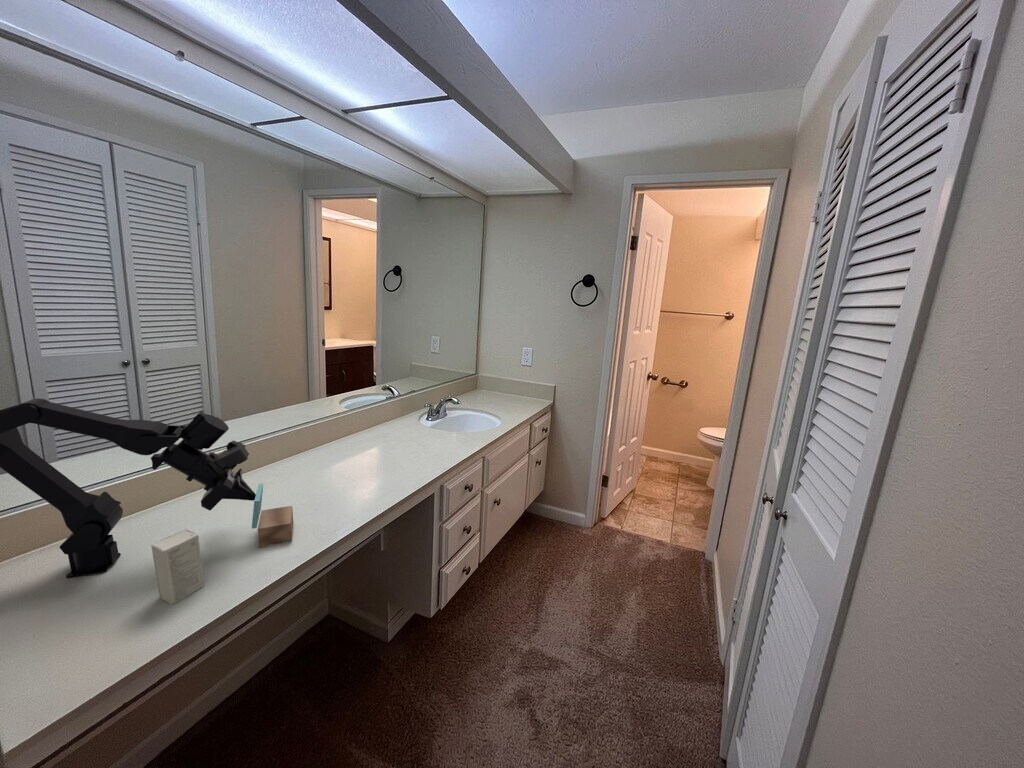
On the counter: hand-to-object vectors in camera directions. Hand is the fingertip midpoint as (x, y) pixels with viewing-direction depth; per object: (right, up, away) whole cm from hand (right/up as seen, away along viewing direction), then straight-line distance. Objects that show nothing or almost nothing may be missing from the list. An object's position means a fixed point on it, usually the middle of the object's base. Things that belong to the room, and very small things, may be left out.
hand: (255, 498), depth 99 cm
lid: (+1, -2, +1) cm, 2 cm away
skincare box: (-5, -15, -17) cm, 23 cm away
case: (+3, -10, +4) cm, 11 cm away
